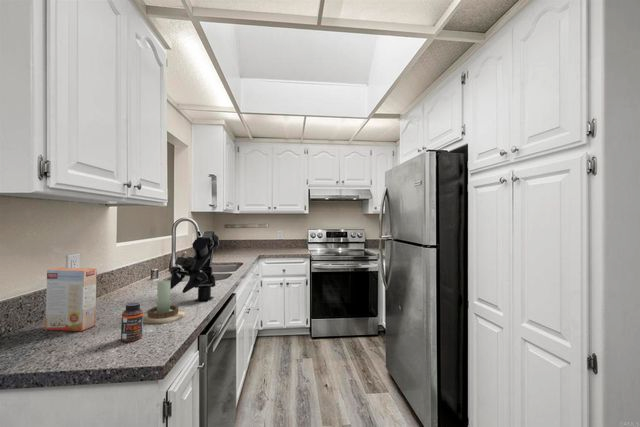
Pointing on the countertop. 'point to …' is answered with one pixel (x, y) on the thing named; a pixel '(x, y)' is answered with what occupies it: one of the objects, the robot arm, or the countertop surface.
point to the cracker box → (70, 299)
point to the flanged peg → (163, 296)
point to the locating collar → (163, 315)
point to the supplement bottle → (132, 322)
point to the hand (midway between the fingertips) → (175, 291)
